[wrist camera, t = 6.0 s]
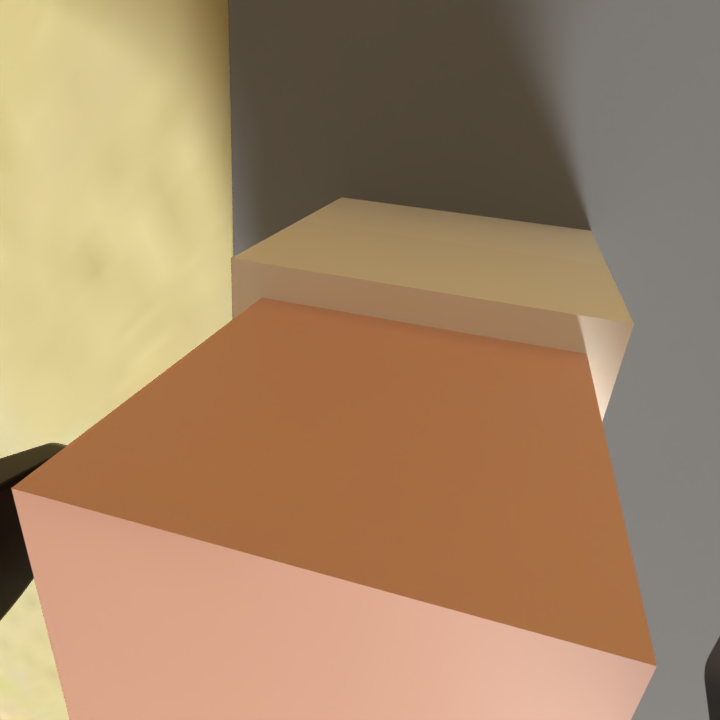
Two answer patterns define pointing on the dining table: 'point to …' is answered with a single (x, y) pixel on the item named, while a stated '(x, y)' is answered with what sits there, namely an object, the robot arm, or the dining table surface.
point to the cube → (342, 534)
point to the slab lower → (461, 229)
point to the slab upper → (443, 289)
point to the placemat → (534, 211)
